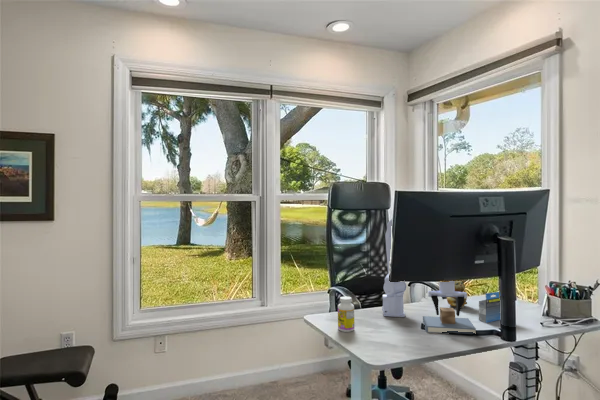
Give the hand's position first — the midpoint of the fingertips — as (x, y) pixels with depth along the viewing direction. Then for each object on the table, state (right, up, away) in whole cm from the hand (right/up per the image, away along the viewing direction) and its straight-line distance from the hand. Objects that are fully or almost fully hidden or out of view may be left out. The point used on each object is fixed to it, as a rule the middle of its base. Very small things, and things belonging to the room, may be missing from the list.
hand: (447, 314), depth 148 cm
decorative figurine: (+16, -6, +30) cm, 35 cm away
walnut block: (0, -3, 0) cm, 3 cm away
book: (0, -6, 0) cm, 6 cm away
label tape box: (+21, -5, +8) cm, 24 cm away
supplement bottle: (-41, -6, 0) cm, 41 cm away
